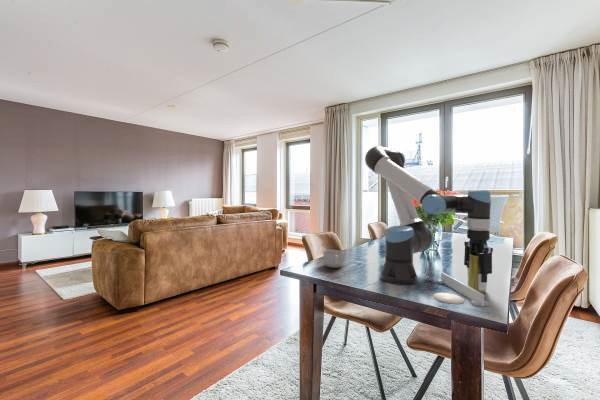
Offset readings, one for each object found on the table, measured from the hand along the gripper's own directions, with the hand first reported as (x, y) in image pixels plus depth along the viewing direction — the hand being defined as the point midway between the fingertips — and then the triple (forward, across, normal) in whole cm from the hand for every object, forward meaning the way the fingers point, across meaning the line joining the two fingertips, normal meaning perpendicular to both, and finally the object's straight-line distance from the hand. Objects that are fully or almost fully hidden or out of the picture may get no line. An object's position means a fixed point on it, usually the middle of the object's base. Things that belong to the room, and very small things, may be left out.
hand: (476, 287), depth 111 cm
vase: (+2, 0, 0) cm, 2 cm away
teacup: (+2, +34, +52) cm, 62 cm away
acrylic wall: (+1, -2, +8) cm, 8 cm away
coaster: (+1, -8, +16) cm, 18 cm away
